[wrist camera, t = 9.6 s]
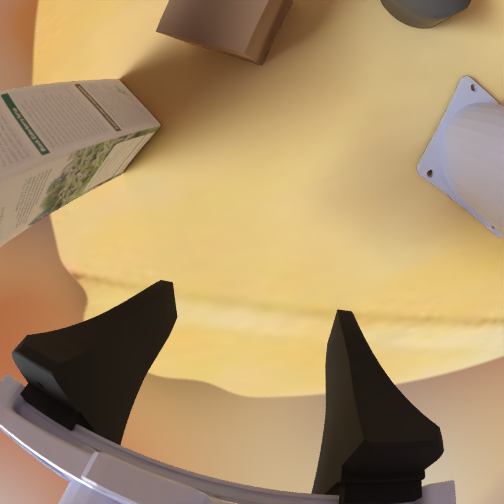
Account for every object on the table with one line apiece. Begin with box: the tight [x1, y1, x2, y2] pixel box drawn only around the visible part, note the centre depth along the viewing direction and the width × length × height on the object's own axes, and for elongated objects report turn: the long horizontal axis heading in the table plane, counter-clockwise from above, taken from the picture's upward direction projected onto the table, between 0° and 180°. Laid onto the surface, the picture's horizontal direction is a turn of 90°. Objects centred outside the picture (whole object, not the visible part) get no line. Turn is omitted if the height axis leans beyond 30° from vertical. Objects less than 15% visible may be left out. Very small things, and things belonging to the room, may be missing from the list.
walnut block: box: [156, 0, 292, 65], centre depth 12 cm, size 5×5×5 cm
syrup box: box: [0, 79, 161, 247], centre depth 13 cm, size 6×6×14 cm
